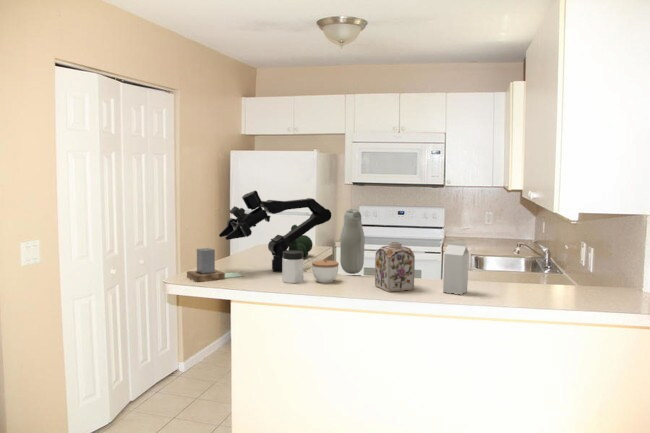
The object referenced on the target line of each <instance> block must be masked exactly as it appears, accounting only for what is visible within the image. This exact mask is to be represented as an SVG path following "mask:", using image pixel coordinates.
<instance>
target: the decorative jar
mask: <svg viewBox="0 0 650 433" xmlns="http://www.w3.org/2000/svg"><path fill="white" fill-rule="evenodd" d="M415 259H416V258H415V254H414V251H413V250H412V248H411V247H408V246H403V245H402V242H400V241H389V244H388V245H384V246H381V247H379V248H378V249H377V251H375V259H374V261H375V262H374V286H375V287H377V288H379V289H381V290H382V291H385V292H387V293H393V292H394V291H395V292H405V291H404V290H409V291H414V288H415V273H416V272H415V270H416V269H415V262H416V261H415Z"/></svg>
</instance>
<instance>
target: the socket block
mask: <svg viewBox="0 0 650 433" xmlns="http://www.w3.org/2000/svg"><path fill="white" fill-rule="evenodd" d="M186 277H187V279H189V280H192V281H193V282H196V283H200V282H201V283H203V282H211V281H220V280H225V279H226V278H225V272H222V271H220V270H218V269H215V273H212V274H202V275H201V274H199V273H197V270H190V271H186Z"/></svg>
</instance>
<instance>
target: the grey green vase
mask: <svg viewBox="0 0 650 433" xmlns="http://www.w3.org/2000/svg"><path fill="white" fill-rule="evenodd" d="M339 238H340V242H339V243H340V244H339V246H340V249H339V250H340V254H339V255H340V258H339V259H340V266H341V269H342V270H343V271H344V272H345V273H347V274H351V275H355V274H359V272H362V270H363V268H364V263H365V240H366V239H365V231H364V228H363V223H362V214H361V212H360V210H358V209H351V208H349V209H347V210H346V211H345V212H344V216H343V225H342V229H341V232H340V237H339Z"/></svg>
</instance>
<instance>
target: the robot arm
mask: <svg viewBox="0 0 650 433" xmlns="http://www.w3.org/2000/svg"><path fill="white" fill-rule="evenodd" d="M241 198H242V201H243V202H244V204H245V205H246V208H247V210H251V212H249V213H246V210H245V209H244V208H243V207H240V208H239V207H238V206H233V207H232V208H231V209H230V210H229V213H230V214H232V215H233V216H235V218H232V217H230V218H229V219H227V222H226V223H227V224H226V227H224V229H222V231H221V232H220V233H219V235H218V236H219V237H220V238H222V237H225V240H226V241H227V240H234V239H241V238H248V237H249V236H252V229H251V228H255V227H257V224H259V223H261V222H262V221H264V222H267V223H269V222H270V221H271V220H270V219H271V217H272V216H271V215H268V213H269V214H272V215H275V214H280V213H282V212H284V211H287V210H295V209H296V210H297V209H305V208H306V209H307V208H308V209H309V212H311V215H310V216H309V217H308V218H307V219H306V220H304V221H303V222H302V223H300V224H299V225H297V227H296V228H294V229H293V230H292V231H291V230H289V231H290V232H289V231H288V232H287V233H286V234H284V235H280V234H277V235H276V236H275V237H272V238H271V239H270V241H269V242H268V244H267V248H268V251H269V252H270V253H271V255H272V258H273V259H271V269H272V271H273V272H275V273H276V272H282V258H283V252H284V251H288V250H289V245H290V244H291V243H292V242H293V241H295V240H296V239H298V238H299V237H300V236H302V235H306V233H307V232H309V231H310V230H312V229H313V228H315V227H316V226H319V225H323V224H325V223H327V222H329V221H330V220H331V219H332V212H331V210H330V209H328V208H325V207H324V206H323V205H321V204H320V203H319V202H318V201H316V199H314V198H311V197H307V198H302V199H291V200H284V201H283V200H278V199H277V200H275V199H267V200H262V199H261V197H260V194H259V193H258V191H257V190H253V191H250V192H248V193H245V194H244V195H243V196H242V197H241Z"/></svg>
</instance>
